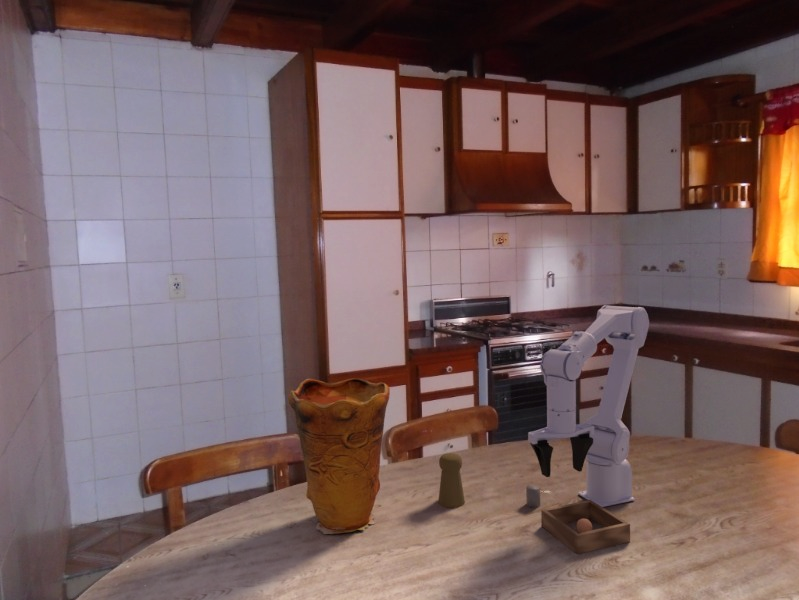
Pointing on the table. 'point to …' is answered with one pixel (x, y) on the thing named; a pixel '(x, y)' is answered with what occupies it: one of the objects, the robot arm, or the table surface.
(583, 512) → the walnut crate
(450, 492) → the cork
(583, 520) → the terracotta ball
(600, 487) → the robot arm
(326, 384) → the vase
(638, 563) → the table surface
